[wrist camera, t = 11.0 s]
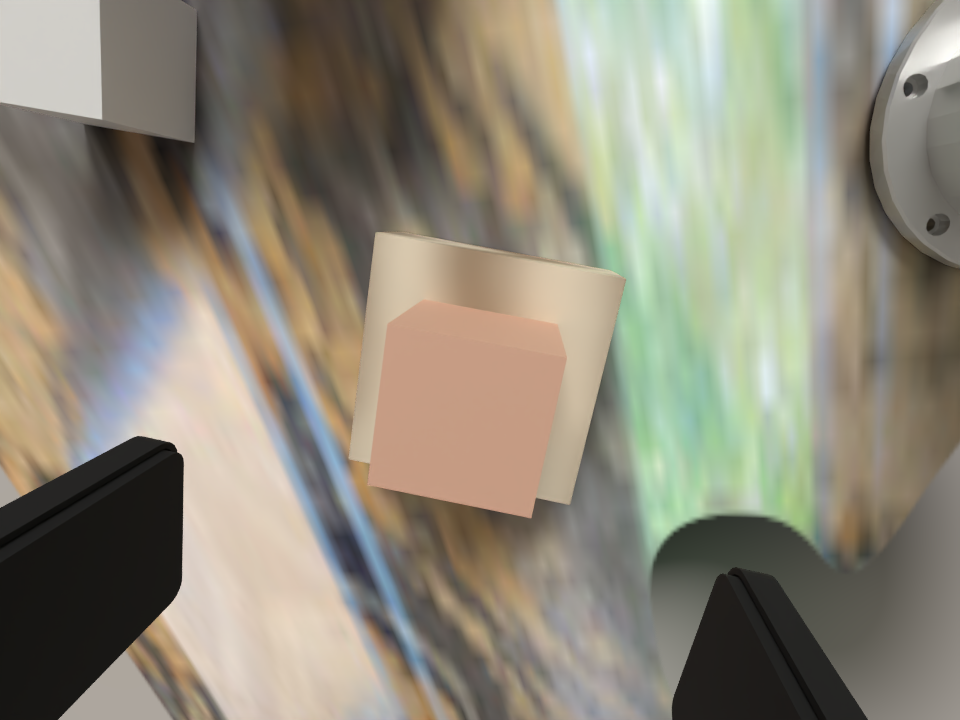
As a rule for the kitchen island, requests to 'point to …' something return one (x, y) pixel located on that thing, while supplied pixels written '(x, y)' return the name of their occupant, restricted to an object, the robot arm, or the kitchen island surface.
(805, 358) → the kitchen island surface
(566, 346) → the maple base block
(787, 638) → the robot arm
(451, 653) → the kitchen island surface
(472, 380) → the terracotta cube
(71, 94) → the pale grey cube
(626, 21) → the kitchen island surface
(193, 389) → the kitchen island surface
